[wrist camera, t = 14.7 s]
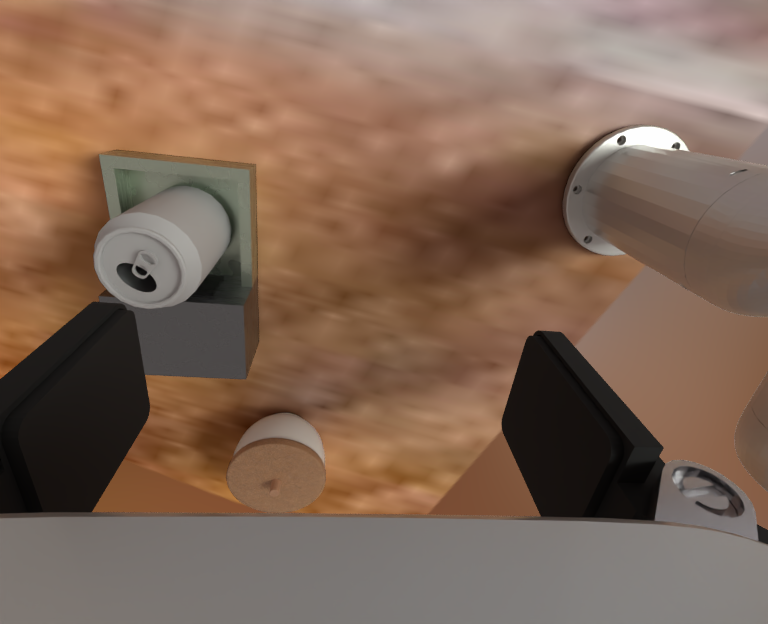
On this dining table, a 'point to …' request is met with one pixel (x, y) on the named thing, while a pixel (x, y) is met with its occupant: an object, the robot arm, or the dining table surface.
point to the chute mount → (220, 287)
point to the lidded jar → (278, 465)
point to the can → (162, 247)
